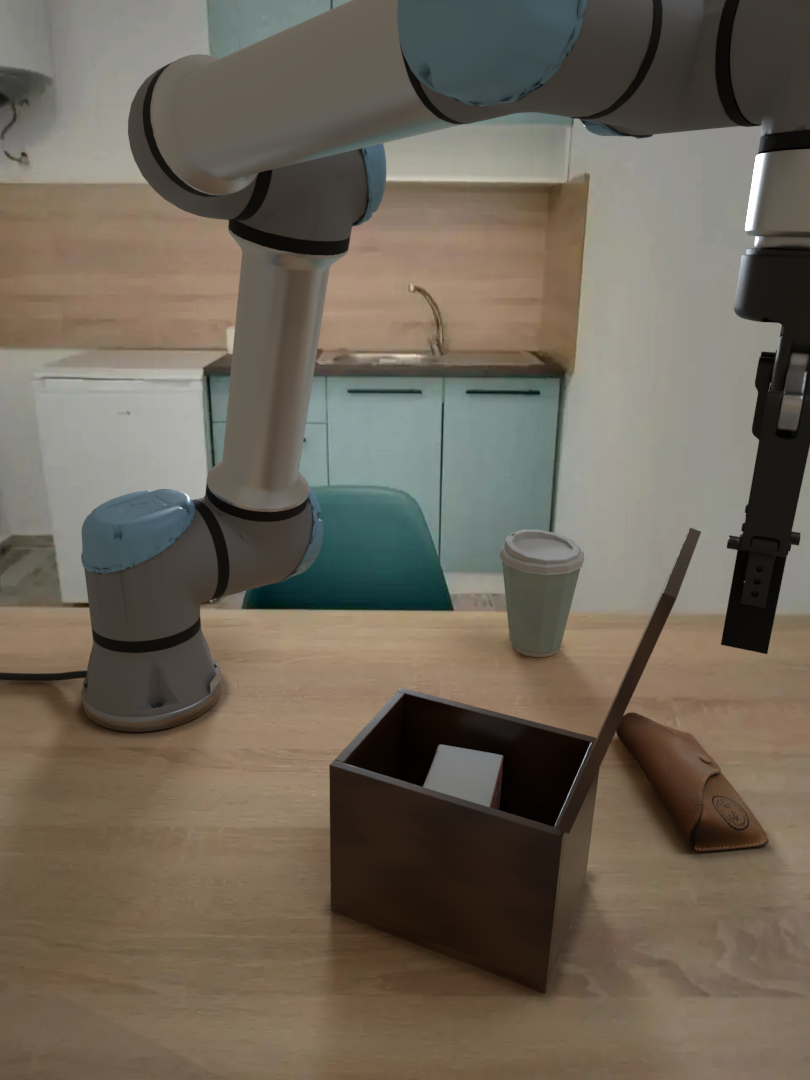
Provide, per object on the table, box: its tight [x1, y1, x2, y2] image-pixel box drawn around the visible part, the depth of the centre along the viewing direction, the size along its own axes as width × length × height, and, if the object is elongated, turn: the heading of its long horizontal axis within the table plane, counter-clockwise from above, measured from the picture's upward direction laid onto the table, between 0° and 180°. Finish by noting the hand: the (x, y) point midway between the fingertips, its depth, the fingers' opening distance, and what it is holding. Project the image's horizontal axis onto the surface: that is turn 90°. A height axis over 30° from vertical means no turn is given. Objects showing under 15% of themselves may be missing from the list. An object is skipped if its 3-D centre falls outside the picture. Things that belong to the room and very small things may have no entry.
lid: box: [558, 527, 702, 834], centre depth 56 cm, size 18×13×1 cm
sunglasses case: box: [615, 711, 769, 853], centre depth 81 cm, size 18×7×7 cm
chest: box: [328, 687, 600, 994], centre depth 66 cm, size 18×13×14 cm
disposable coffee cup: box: [498, 529, 585, 658], centre depth 107 cm, size 11×11×15 cm
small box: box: [423, 744, 504, 810], centre depth 66 cm, size 8×6×10 cm
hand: (744, 644), depth 52 cm, fingers closed
